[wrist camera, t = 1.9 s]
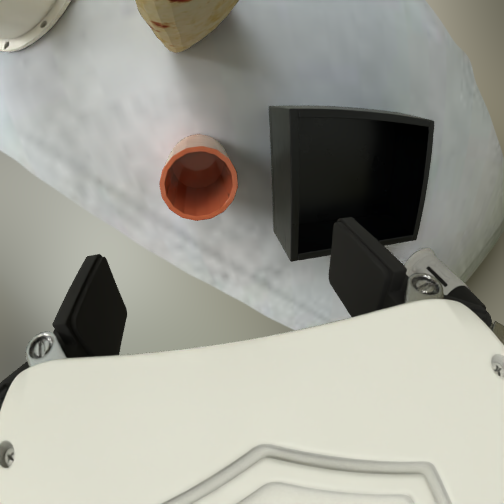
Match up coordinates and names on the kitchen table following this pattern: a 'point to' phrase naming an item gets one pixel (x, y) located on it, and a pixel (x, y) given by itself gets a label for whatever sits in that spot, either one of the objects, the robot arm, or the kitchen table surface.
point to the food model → (183, 19)
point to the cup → (198, 178)
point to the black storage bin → (346, 174)
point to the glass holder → (440, 275)
